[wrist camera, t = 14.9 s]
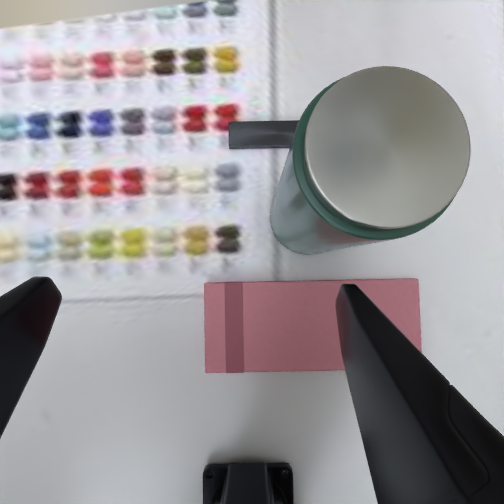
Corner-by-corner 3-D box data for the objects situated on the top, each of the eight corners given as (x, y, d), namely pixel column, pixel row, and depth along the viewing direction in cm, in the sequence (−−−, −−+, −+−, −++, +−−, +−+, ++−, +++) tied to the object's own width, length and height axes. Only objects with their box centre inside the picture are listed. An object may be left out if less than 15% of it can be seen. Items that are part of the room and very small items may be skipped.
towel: (418, 366, 21) (423, 369, 21) (206, 370, 21) (205, 373, 21) (413, 278, 22) (418, 278, 21) (205, 282, 22) (204, 282, 21)
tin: (345, 253, 22) (486, 236, 9) (270, 255, 22) (297, 240, 9) (343, 179, 22) (475, 54, 9) (268, 180, 22) (292, 57, 9)
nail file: (382, 149, 22) (387, 145, 21) (229, 152, 22) (228, 148, 21) (381, 117, 22) (385, 111, 21) (228, 120, 22) (228, 115, 21)
